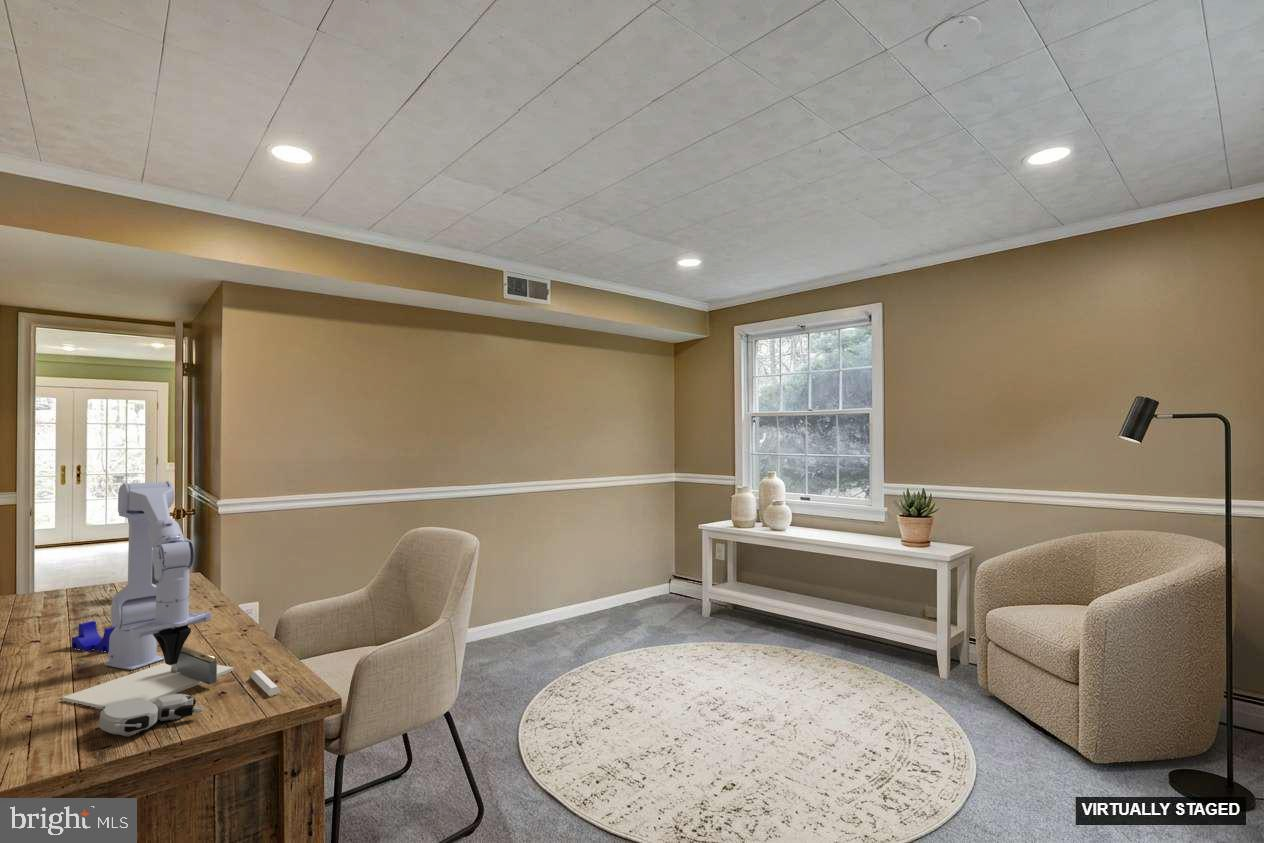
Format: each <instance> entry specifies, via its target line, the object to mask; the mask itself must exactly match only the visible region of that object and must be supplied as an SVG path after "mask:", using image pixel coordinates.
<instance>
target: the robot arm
mask: <svg viewBox="0 0 1264 843" xmlns="http://www.w3.org/2000/svg"><path fill="white" fill-rule="evenodd" d="M175 492H176V491H175V487H174V484H173V483H172V482H171V481H169V480H166V481H161V482H160V481H157V482H138V483H137V482H135V483H134V482H133V483H127V482H123V483H122V484H121V485H120V487H119V488H118V494H117V497H118V498H117V512H118V516H119V517H123V518H126V519H127V522H128V553H127V554H128V555H127V556H128V557H127V585H125V586H124V587H123V588H122V589H120V590H119V591H117V592H116V593H114V594H113V597H112V599H111V600H112V601H111V607H110V622H111V625H112V627H115V629H114V630H113V631H112V633H111V635H110V638H109V653H108V661H106V662H105V663H104V666H107V667H112V668H119V669H123V670H130V671H132V670H137V669H139V668H142V667H145V666H148V665H151V664H154V663H157V662H160V661H163V660H164V663H165V664H168V665H173V664H177V662H178V658H179V655H180V652H181V649H182V647H183V645H184V646H185V642H186V641H187V639H188V637H189V636H190V635H191V631H192V628H191V627H189V626H191V625H195V624H199V623H203V622H204V623H205V622H206V623H208V622H211V621H212V612H211V611H208V610H207V611H206V610H205V611H199V612H194V613H189V612H190V572H191V571H190V568H192V567H193V566H194V562H195V548H194V543H193V542H192V540H191V539H189V538H185V536H184V534H183V532H182V529H181V526H180V523H178V521H176V520H175V519H171V514H170V510H169V509H170V508H172V506H173V504H174V502H175V497H176V496H175V495H176V494H175ZM152 553H153V565H154V577H155V579H156V585H154V584H152ZM157 644H158V646H159V647H160V649H161V652H162V655H157V654H158V653H157V652H158V651H157V650H158V648H157V647H158V646H157Z"/></svg>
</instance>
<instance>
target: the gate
mask: <svg viewBox="0 0 1264 843" xmlns="http://www.w3.org/2000/svg"><path fill="white" fill-rule="evenodd" d="M217 665H218V662H217V657H216V656H215V657H214V656H211V655H209V654H207V653H203V652H201V651H199V650H195V649H193V648H189V647H186V646H185V645H184V646H183V647H182V649H181V652H180V655H179V658H178V662H177V672H179V673H181V674H184V675H186V676H189V677H191V678H194V679H196V680H199V681H201V682H204V683H203V684H206V685H212V684H216V683H217V680H218V679H217V678H218V677H217Z"/></svg>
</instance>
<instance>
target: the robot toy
mask: <svg viewBox="0 0 1264 843" xmlns="http://www.w3.org/2000/svg"><path fill="white" fill-rule="evenodd" d="M196 703H197V700H196V698H195V697H193V696H192V695H189V694H184V693H179V692H178V693H175V694H172V695H168V696H164V697H161V698H158V699H157V700H156V701H155V702H150V701H147V700H143V699H133V700H128V701H124V702H119V703H114V704H110V705H108V706H97V707H96V708H95V709H98V710H101V708H104V709H103V710H101V711H100V713H99V719H98V720H99V722H98V724H99V725H98V726H99V729H101V730H102V731H104V732H106V733H108V734H112V735H121V736H122V737H131V736H130V735H133V736H135V735H137V734H138V733H140V732H141V731H143V730H148V729H149V728H151V727H153V726H154V725H155V724H156V723H157V722H158V720H159V721H160V722H163V721H170V720H171V721H176V720H179V718H180V719H181V718H183V717H192V716H193V714H194V713H195V714H197V713H198V714H199V713H202V712H203V710H204V706H202V705H199V706H195V705H196ZM175 719H176V720H175ZM136 733H137V734H136ZM134 734H135V735H134Z"/></svg>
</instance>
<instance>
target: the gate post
mask: <svg viewBox="0 0 1264 843" xmlns="http://www.w3.org/2000/svg"><path fill="white" fill-rule="evenodd" d="M183 646H184V647H185V644H184V645H183ZM171 673H178V672H177V664H173V665H171Z"/></svg>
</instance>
